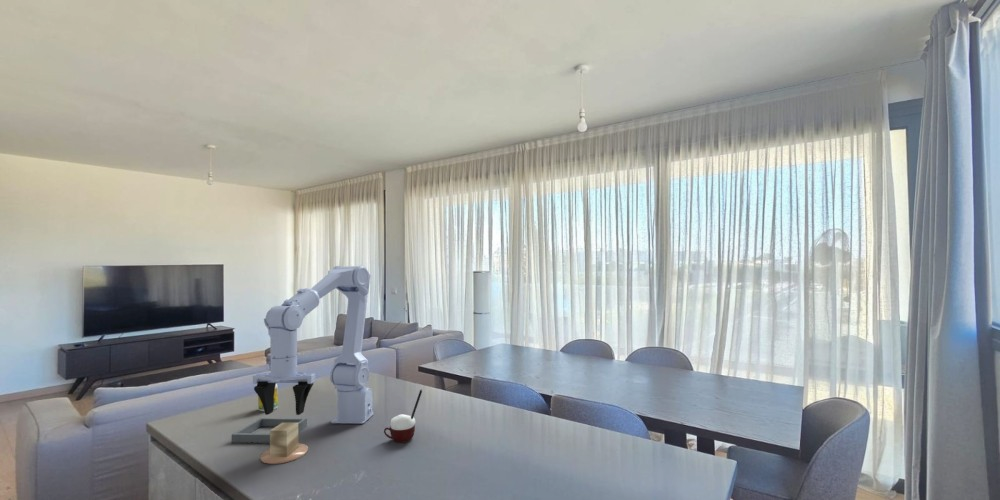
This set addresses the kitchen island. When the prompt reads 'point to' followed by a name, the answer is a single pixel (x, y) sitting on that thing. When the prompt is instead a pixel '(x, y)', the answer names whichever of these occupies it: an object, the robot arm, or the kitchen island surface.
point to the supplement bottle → (274, 400)
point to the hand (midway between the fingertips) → (284, 413)
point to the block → (283, 439)
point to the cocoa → (403, 426)
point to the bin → (246, 435)
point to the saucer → (294, 455)
